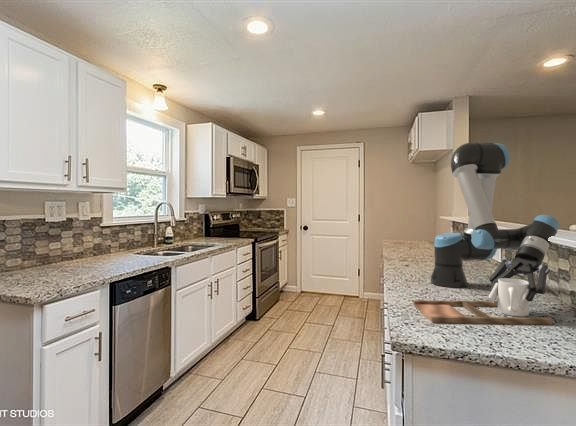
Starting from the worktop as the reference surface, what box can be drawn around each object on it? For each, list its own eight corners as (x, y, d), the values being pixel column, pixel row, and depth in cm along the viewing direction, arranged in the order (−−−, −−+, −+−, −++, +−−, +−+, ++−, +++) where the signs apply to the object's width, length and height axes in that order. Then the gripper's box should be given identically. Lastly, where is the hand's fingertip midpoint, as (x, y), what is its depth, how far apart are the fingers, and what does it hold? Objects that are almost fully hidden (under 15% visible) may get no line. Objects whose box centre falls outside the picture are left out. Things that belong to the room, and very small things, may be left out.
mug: (494, 316, 102) (495, 283, 102) (499, 306, 111) (499, 276, 111) (527, 322, 97) (528, 288, 96) (530, 311, 106) (530, 280, 105)
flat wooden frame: (513, 305, 113) (512, 301, 113) (551, 324, 95) (551, 319, 95) (413, 304, 116) (413, 300, 116) (432, 322, 97) (432, 317, 97)
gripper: (495, 242, 118) (468, 289, 111) (565, 248, 99) (539, 305, 92) (503, 255, 121) (477, 302, 114) (573, 263, 102) (548, 320, 94)
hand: (505, 303), depth 103 cm, fingers closed on mug, 9 cm apart
